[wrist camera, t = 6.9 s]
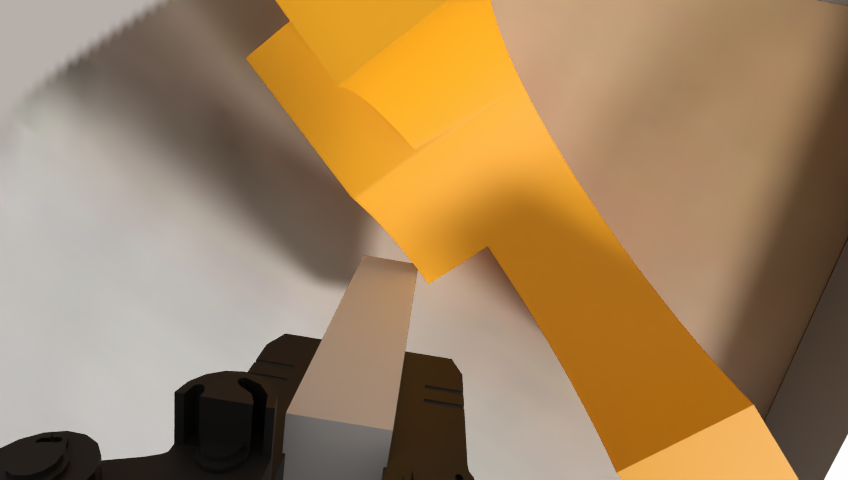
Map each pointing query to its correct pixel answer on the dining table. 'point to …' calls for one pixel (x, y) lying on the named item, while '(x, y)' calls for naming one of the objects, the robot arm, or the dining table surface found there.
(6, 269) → the dining table surface
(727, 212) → the dining table surface
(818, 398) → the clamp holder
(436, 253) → the orange blocky piece
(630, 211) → the dining table surface
